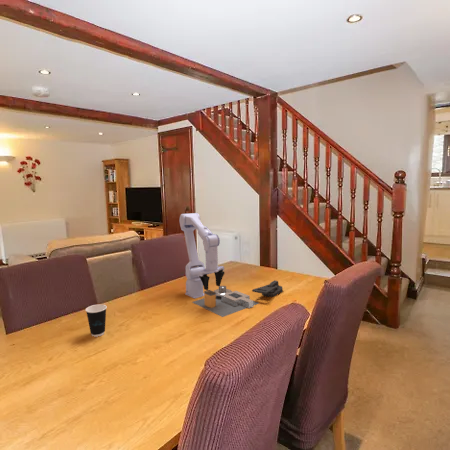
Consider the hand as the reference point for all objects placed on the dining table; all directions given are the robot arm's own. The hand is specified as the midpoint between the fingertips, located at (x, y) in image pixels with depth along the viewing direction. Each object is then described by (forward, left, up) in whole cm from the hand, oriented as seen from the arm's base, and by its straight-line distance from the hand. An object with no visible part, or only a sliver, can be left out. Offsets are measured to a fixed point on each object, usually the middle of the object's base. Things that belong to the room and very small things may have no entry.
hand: (212, 287), depth 155 cm
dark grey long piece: (+8, +31, -10) cm, 34 cm away
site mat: (+1, +7, -10) cm, 12 cm away
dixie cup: (-9, -52, -10) cm, 53 cm away
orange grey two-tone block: (-1, -1, -9) cm, 9 cm away
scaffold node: (+1, +12, -9) cm, 15 cm away
